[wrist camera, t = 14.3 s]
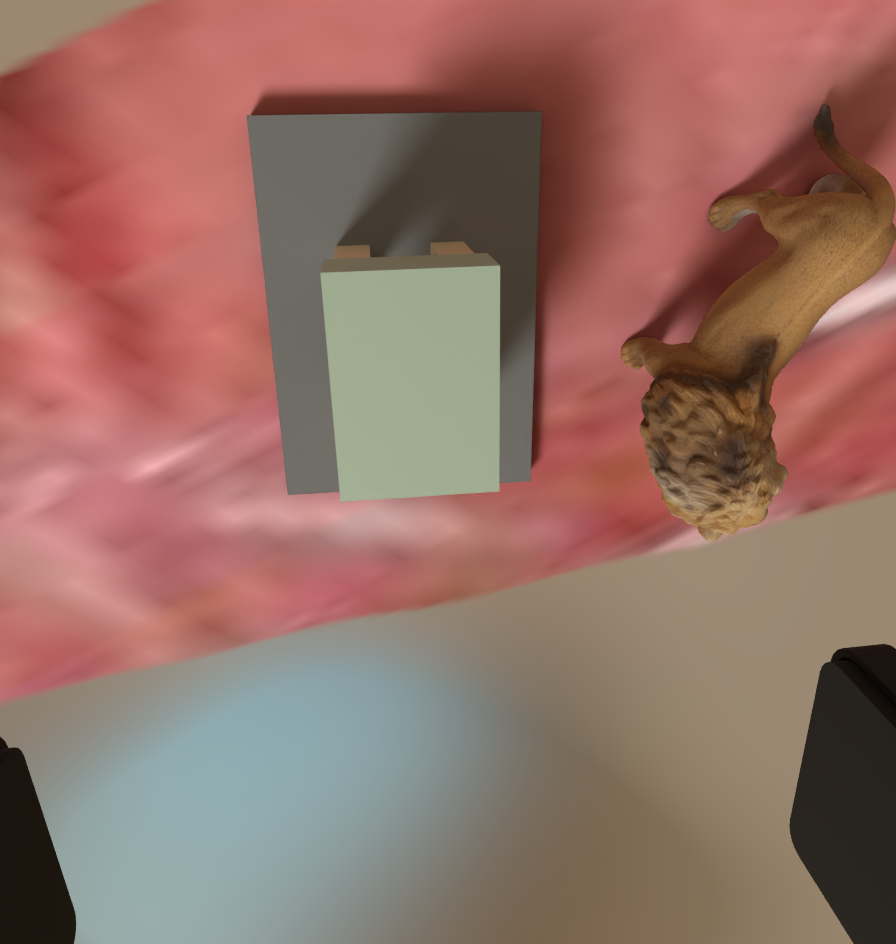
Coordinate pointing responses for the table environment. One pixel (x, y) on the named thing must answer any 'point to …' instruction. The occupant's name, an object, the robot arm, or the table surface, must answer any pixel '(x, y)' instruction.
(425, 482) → the sage stool
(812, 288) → the lion figurine
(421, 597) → the table surface
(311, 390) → the charcoal mat
